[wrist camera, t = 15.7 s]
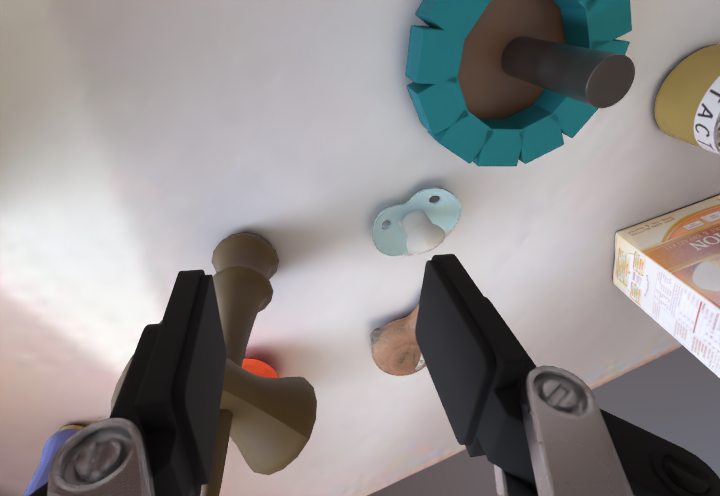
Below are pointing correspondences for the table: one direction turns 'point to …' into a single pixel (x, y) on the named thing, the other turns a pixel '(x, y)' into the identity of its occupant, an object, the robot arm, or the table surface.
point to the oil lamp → (398, 346)
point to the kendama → (242, 388)
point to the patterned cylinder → (692, 100)
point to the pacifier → (416, 223)
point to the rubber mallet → (50, 456)
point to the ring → (529, 126)
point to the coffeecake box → (677, 275)
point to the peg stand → (534, 62)
